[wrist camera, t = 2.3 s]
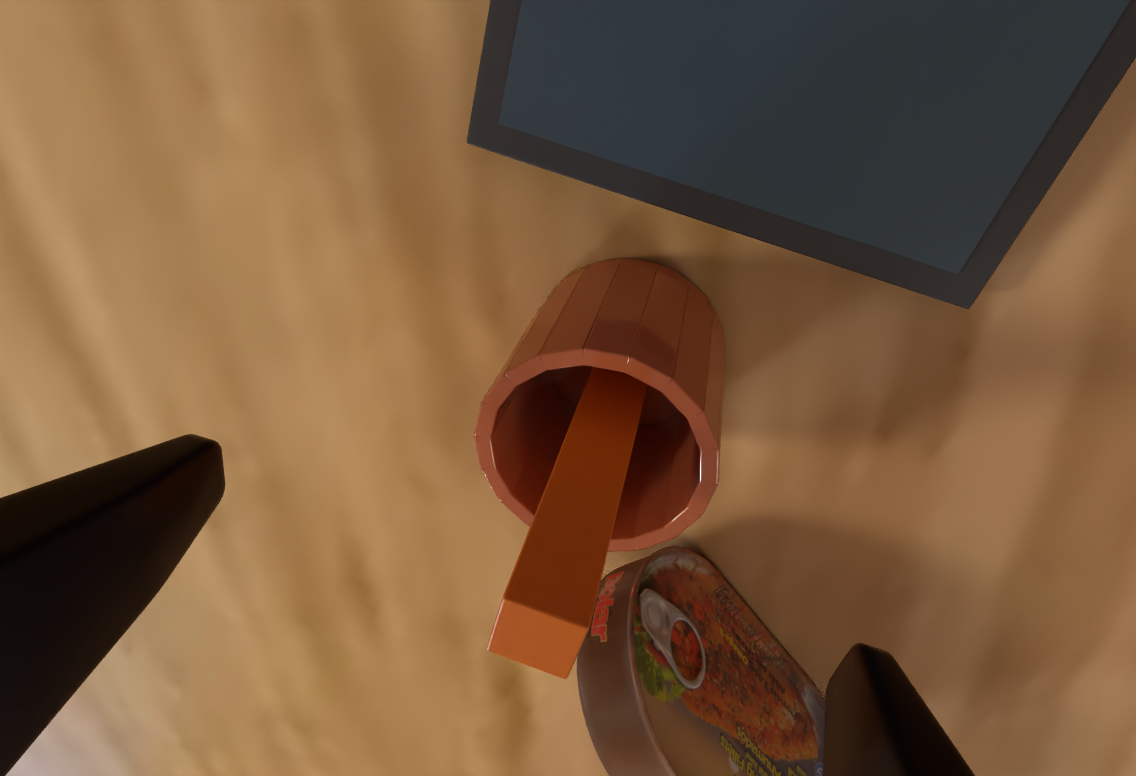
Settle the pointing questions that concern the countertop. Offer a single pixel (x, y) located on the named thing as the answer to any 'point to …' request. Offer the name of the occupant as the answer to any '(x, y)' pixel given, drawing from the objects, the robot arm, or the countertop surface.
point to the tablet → (813, 116)
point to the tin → (692, 678)
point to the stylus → (571, 530)
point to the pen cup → (627, 344)
